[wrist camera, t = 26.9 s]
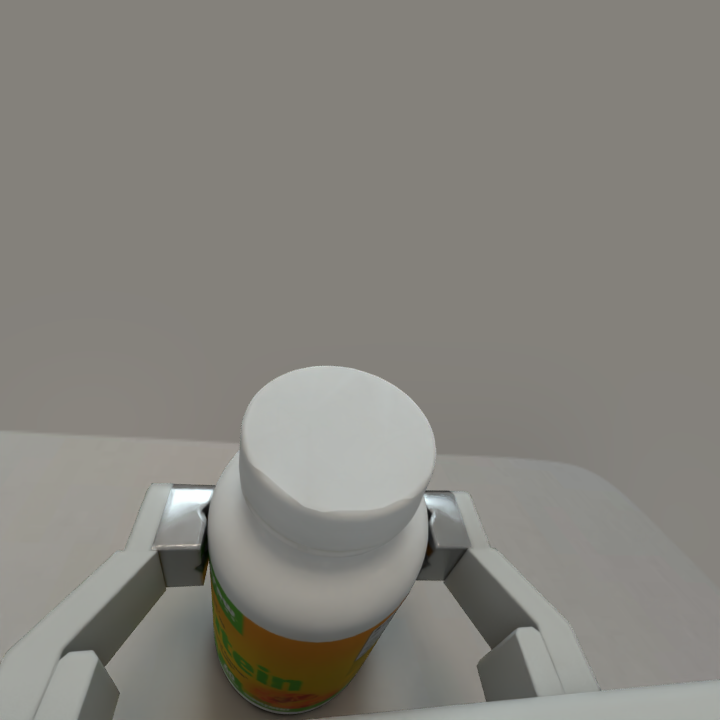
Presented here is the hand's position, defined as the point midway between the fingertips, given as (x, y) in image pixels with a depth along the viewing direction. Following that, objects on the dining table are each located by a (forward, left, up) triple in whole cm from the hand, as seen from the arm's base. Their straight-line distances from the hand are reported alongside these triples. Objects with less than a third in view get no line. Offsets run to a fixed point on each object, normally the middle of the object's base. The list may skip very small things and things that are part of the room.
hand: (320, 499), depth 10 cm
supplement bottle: (0, +1, -6) cm, 6 cm away
